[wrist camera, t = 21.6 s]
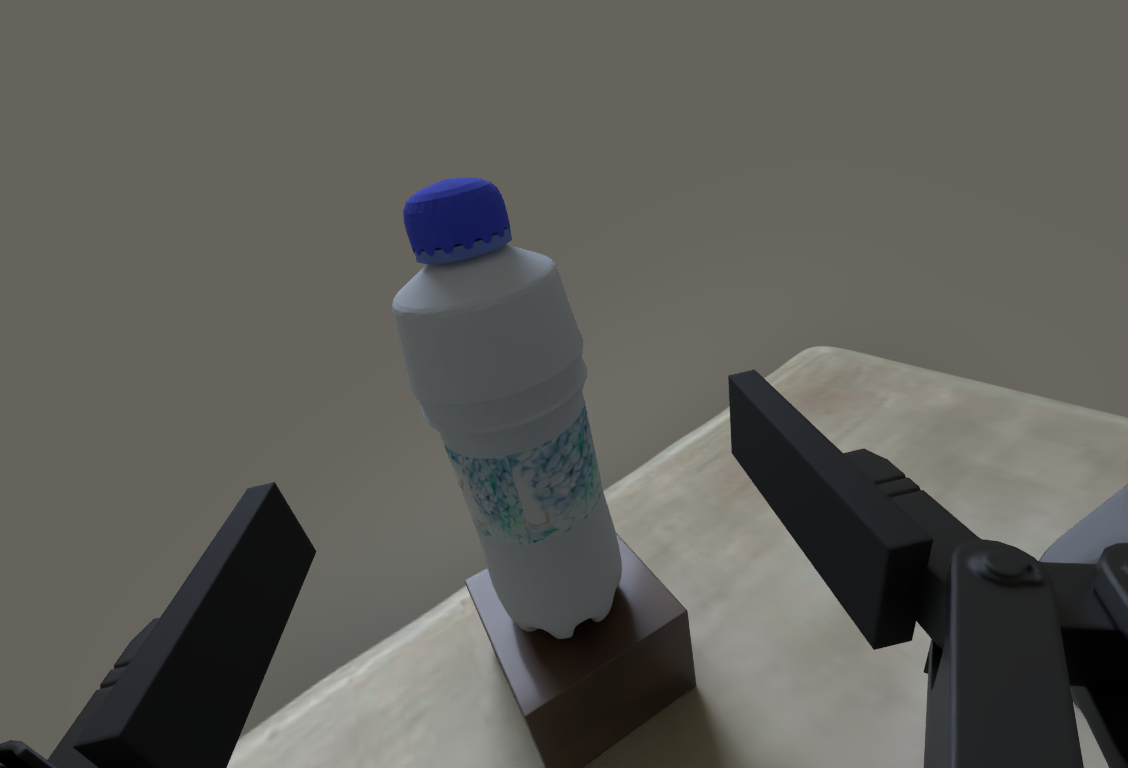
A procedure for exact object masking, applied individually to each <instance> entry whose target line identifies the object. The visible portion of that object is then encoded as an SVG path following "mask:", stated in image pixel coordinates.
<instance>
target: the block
mask: <svg viewBox="0 0 1128 768" xmlns="http://www.w3.org/2000/svg"><path fill="white" fill-rule="evenodd" d="M616 536H617V540H618V545H619V549H620V554H621V560H622V573H621V579H620V582H619V584H618V585H617V587H616V590H615V593H614V598H613V602H612V606H611V609H610V611H609V613H608V614H607V615H606V617H605V618H604V619H603V620H601V621H600V622H595V621H593V620H592V619H591V618H589V619H587V620H585V621H583V622H581V623H579V624H578V625H577V626H576V627H575V629H574V632H573V636H571V637H570V638H565V639H557V638H556V637H554V636H553V635H551V634H550V633H549V632H547V631H545V630H543V629H539V628H538V629H537V630H535V631H530V632H529V631H525V630H523V629H522V628H520V627H519V626H518V625H517V624H516V623H515V622H514V621H513V620H512V619H511V618H510V616H509V615H508V613H507V612H506V610H505V609H504V607H503V605H502V603H501V602H500V600H499V598H498V596H497V594H496V591H495V589H494V587H493V585H492V581H491V578H490V575H489V572H488V568H487V569H485V570H483V571H481V572H479V573H477V574H476V575H474V576H472V577H470V578H468V579H466V580H465V584H466V586H467V588H468V591H469V593H470V596H471V598H472V600H473V603H474V605H475V607H476V610H477V612H478V614H479V617H480V619H481V621H482V624H483V626H484V628H485V631H486V633H487V636H488V638H489V640H490V643H491V645H492V647H493V650H494V652H495V654H496V657H497V659H498V661H499V663H500V666H501V668H502V670H503V673H504V675H505V677H506V679H507V682H508V684H509V686H510V689H511V691H512V693H513V695H514V698H515V700H516V702H517V705H518V707H519V709H520V712H521V714H522V716H523V718H524V721H525V723H526V725H527V728H528V730H529V732H530V734H531V737H532V739H533V741H534V744H535V746H536V748H537V750H538V753H539V755H540V757H541V760H542V762H543V764H544V767H545V768H582V767H583V766H585V765H586V764H587V763H589V762H590V761H592V760H593V759H594V758H596V757H597V756H599V755H600V754H601V753H603V752H604V751H605V750H607V749H608V748H610V747H611V746H612V745H614V744H615V743H617V742H618V741H619V740H621V739H622V738H623V737H625V736H626V735H628V734H629V733H630V732H632V731H633V730H635V729H636V728H637V727H639V726H640V725H641V724H643V723H644V722H646V721H647V720H648V719H650V718H651V717H653V716H654V715H655V714H657V713H658V712H659V711H661V710H662V709H664V708H665V707H666V706H668V705H669V704H671V703H672V702H673V701H675V700H676V699H677V698H679V697H680V696H682V695H683V694H684V693H686V692H687V691H689V690H690V689H691V688H693V687H694V686H695V685H696V679H695V670H694V662H693V654H692V646H691V637H690V629H689V621H688V613H687V610H686V609H685V608H684V607H683V606H682V604H681V603H680V602H679V601H678V600H677V599H676V598H675V597H674V596H673V595H672V594H671V592H670V591H669V590H668V589H667V588H666V587H665V586H664V585H663V584H662V583H661V582H660V580H659V579H658V578H657V577H656V576H655V575H654V574H653V573H652V572H651V571H650V570H649V568H648V567H647V566H646V565H645V564H644V563H643V562H642V561H641V560H640V559H639V557H638V556H637V555H636V554H635V553H634V552H633V551H632V550H631V549H630V548H629V547H628V545H627V544H626V543H625V542H624V541H623V540H622V539H621V538H620V537H619V536H618V535H617V533H616Z"/></svg>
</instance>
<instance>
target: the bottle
mask: <svg viewBox="0 0 1128 768" xmlns="http://www.w3.org/2000/svg"><path fill="white" fill-rule="evenodd" d="M403 215H404V224H405V227H406V231H407V234H408V237H409V240H410V243H411V246H412V249H413V252H415V255H416V260H417V262H419V263H424V264H427V265H426V266H424V268H423V269H421V270H420V271H419V273H417V274H416V275H415V276H414V277H413V278H412V279H411V280H410V281H409V282H408V283H407V284H406V285H405V286H404V287H403V288H402V289H401V290H400V291H399V292H398V293H397V295H396V296H395V298H394V300H393V306H392V310H393V315H394V319H395V323H396V327H397V332H398V335H399V340H400V345H401V349H402V353H403V358H404V362H405V366H406V370H407V375H408V383H409V387H410V389H411V391H412V392H413V394H414V395H415V396H416V397H417V399H418V400H419V402H420V404H421V410H422V415H423V417H424V419H425V420H426V421H427V422H428V423H429V424H430V425H431V426H432V427H433V428H434V429H436V430H437V431H439V433H440V435H441V438H442V441H443V443H444V446H445V448H446V451H447V454H448V457H449V459H450V462H451V464H452V467H453V470H454V472H455V475H456V478H457V480H458V483H459V486H460V488H461V491H462V493H463V496H464V498H465V501H466V504H467V507H468V509H469V512H470V514H471V517H472V520H473V522H474V524H475V527H476V530H477V532H478V535H479V539H480V543H481V546H482V550H483V553H484V557H485V561H486V565H487V568H488V572H489V575H490V578H491V581H492V585H493V587H494V589H495V591H496V594H497V596H498V598H499V600H500V602H501V603H502V605H503V607H504V609H505V610H506V612H507V613H508V615H509V616H510V618H511V619H512V620H513V621H514V622H515V623H516V624H517V625H518V626H519V627H520V628H522V629H523V630H525V631H529V632H530V631H535V630H537V629H538V628H539V629H543V630H545V631H547V632H549V633H550V634H551V635H553V636H554V637H556V638H557V639H565V638H570V637H571V636H573V632H574V629H575V627H576V626H577V625H578V624H579V623H581V622H583V621H585V620H587V619H589V618H591V619H592V620H593V621H595V622H600V621H601V620H603V619H604V618H605V617H606V615H607V614H608V613H609V611H610V609H611V606H612V602H613V598H614V593H615V590H616V587H617V585H618V584H619V582H620V579H621V573H622V560H621V554H620V549H619V545H618V540H617V536H616V532H615V529H614V525H613V522H612V519H611V516H610V513H609V509H608V506H607V503H606V500H605V496H604V493H603V489H602V485H601V478H600V473H599V468H598V464H597V459H596V454H595V450H594V445H593V440H592V435H591V430H590V425H589V421H588V417H587V411H586V406H585V402H584V398H583V393H582V389H583V386H584V383H585V380H586V377H587V367H586V364H585V362H584V361H583V359H582V350H583V349H582V348H583V338H582V335H581V333H580V331H579V329H578V326H577V324H576V321H575V319H574V316H573V313H572V310H571V307H570V304H569V301H568V298H567V295H566V292H565V290H564V287H563V284H562V281H561V278H560V275H559V272H558V269H557V266H556V264H555V263H554V261H553V260H551V259H550V258H549V257H547V256H544V255H542V254H539V253H535V252H531V251H528V250H524V249H520V248H517V247H513V246H509V245H506V244H507V243H508V242H510V241H511V240H512V238H511V231H510V224H509V219H508V215H507V211H506V207H505V204H504V200H503V198H502V195H501V194H500V192H499V190H498V189H497V187H496V186H494V185H493V184H492V183H491V182H489V181H486V180H483V179H481V178H454V179H445V180H442V181H440V182H437V183H435V184H432V185H429V186H428V187H425V188H423V189H421V190H419V191H418V192H416V193H415V194H413V195H412V196H411V197H410V198H409V200H408V201H407V202H406V204H405V207H404V212H403Z"/></svg>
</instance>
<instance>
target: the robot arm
mask: <svg viewBox="0 0 1128 768" xmlns="http://www.w3.org/2000/svg"><path fill="white" fill-rule="evenodd" d="M728 378H729V401H730V423H731V445H732V454H733V455H734V457H735V458H736V459H737V461H738V462H739V464H740V465H741V466H742V468H743V469H744V470H745V472H746V473H747V475H748V476H749V477H750V479H751V480H752V482H753V483H754V484H755V486H756V487H757V489H758V490H759V491H760V493H761V494H762V495H763V497H764V498H765V500H766V501H767V502H768V504H769V505H770V507H771V508H772V509H773V511H774V512H775V513H776V515H777V516H778V518H779V519H780V520H781V522H782V523H783V525H784V526H785V527H786V529H787V530H788V531H789V533H790V534H791V536H792V537H793V538H794V540H795V541H796V543H797V544H798V545H799V547H800V548H801V549H802V551H803V552H804V554H805V555H806V556H807V558H808V559H809V561H810V562H811V563H812V565H813V566H814V567H815V569H816V570H817V572H818V573H819V574H820V576H821V577H822V579H823V580H824V581H825V583H826V584H827V585H828V587H829V588H830V590H831V591H832V592H833V594H834V595H835V597H836V598H837V599H838V601H839V602H840V604H841V605H842V606H843V608H844V609H845V610H846V612H847V613H848V615H849V616H850V617H851V619H852V620H853V622H854V623H855V624H856V626H857V627H858V628H859V630H860V631H861V633H862V634H863V635H864V637H865V638H866V640H867V641H868V642H869V644H870V645H871V646H872V648H873V649H874V650H875V649H879V648H883V647H887V646H891V645H895V644H900V643H904V642H908V641H912V637H913V633H914V628H915V623H916V621H917V622H918V623H919V624H920V626H921V627H922V628H923V629H924V630H925V631H926V633H927V634H928V635H929V636H930V637H931V639H932V640H931V644H930V648H929V652H928V656H927V660H926V665H925V669H924V672H925V673H927V674H928V690H927V711H926V733H925V754H924V768H1084V767H1083V761H1082V755H1081V749H1080V743H1079V737H1078V731H1077V725H1076V719H1075V713H1074V707H1073V701H1074V702H1075V703H1076V704H1077V705H1078V706H1079V707H1080V708H1081V710H1082V712H1083V714H1084V716H1085V718H1086V720H1087V722H1088V724H1089V726H1090V728H1091V730H1092V732H1093V734H1094V737H1095V739H1096V741H1097V743H1098V745H1099V747H1100V749H1101V751H1102V753H1103V755H1104V757H1105V759H1106V761H1107V764H1108V766H1109V768H1128V484H1127V485H1126V486H1125V487H1123V488H1122V489H1121V490H1120V491H1118V492H1117V493H1116V494H1114V495H1113V496H1112V497H1111V498H1109V499H1108V500H1107V501H1106V502H1104V503H1103V504H1102V505H1100V506H1099V507H1098V508H1097V509H1095V510H1094V511H1093V512H1092V513H1090V514H1089V515H1088V516H1087V517H1085V518H1084V519H1083V520H1081V521H1080V522H1079V523H1078V524H1076V525H1075V526H1074V527H1073V528H1071V529H1070V530H1069V531H1068V532H1066V533H1065V534H1064V535H1062V536H1061V537H1060V538H1059V539H1057V540H1056V541H1055V542H1054V543H1053V544H1052V545H1051V546H1050V547H1049V548H1048V549H1047V550H1046V551H1045V552H1044V554H1043V555H1042V557H1041V559H1040V560H1039V561H1037V560H1036V559H1035V558H1034V557H1032V556H1031V555H1029V554H1027V553H1025V552H1024V551H1022V550H1020V549H1018V548H1016V547H1013V546H1010V545H1007V544H1004V543H1001V542H998V541H990V540H982V539H980V538H979V537H977V536H976V535H975V534H974V533H973V532H972V531H970V530H969V529H968V528H967V527H966V526H965V525H963V524H962V523H961V522H960V521H959V520H958V519H956V518H955V517H954V516H953V515H952V514H951V513H949V512H948V511H947V510H946V509H945V508H943V507H942V506H941V505H940V504H939V503H938V502H936V501H935V500H934V499H933V498H932V497H931V496H929V495H928V494H927V493H926V492H925V491H924V490H922V491H921V490H920V487H919V486H918V485H917V484H915V483H914V482H913V481H912V480H911V479H910V478H906V477H905V474H904V473H903V472H901V471H900V470H899V469H898V468H897V467H895V466H894V465H893V464H892V463H891V462H890V461H888V460H887V459H885V458H883V457H881V456H879V455H876V454H874V453H872V452H870V451H868V450H866V449H860V450H856V451H852V452H847V453H842V452H841V451H840V450H839V449H838V448H837V447H836V446H835V445H834V444H833V443H831V442H830V441H829V440H828V439H827V438H826V437H825V436H824V435H823V434H822V433H821V432H820V431H819V430H818V429H817V428H816V427H815V426H813V425H812V424H811V423H810V422H809V421H808V420H807V419H806V418H805V417H804V416H803V415H802V414H801V413H800V412H799V411H798V410H797V409H795V408H794V407H793V406H792V405H791V404H790V403H789V402H788V401H787V400H786V399H785V398H784V397H783V396H782V395H781V394H780V393H779V392H778V391H776V390H775V389H774V388H773V387H772V386H771V385H770V384H769V383H768V382H767V381H766V380H765V379H764V378H763V377H762V376H761V375H760V374H758V373H757V372H756V371H755V370H752V371H747V372H742V373H738V374H734V375H730V376H728ZM315 553H316V550H315V549H314V547H313V545H312V544H311V542H310V540H309V538H308V537H307V535H306V534H305V532H304V530H303V529H302V527H301V525H300V524H299V522H298V520H297V519H296V517H295V515H294V514H293V512H292V510H291V509H290V507H289V505H288V504H287V502H286V500H285V499H284V497H283V495H282V494H281V492H280V490H279V489H278V487H277V485H276V484H275V482H273V483H269V484H264V485H261V486H256V487H252V488H248V489H247V490H246V492H245V493H244V495H243V496H242V498H241V499H240V501H239V502H238V503H237V505H236V507H235V508H234V510H233V511H232V512H231V514H230V515H229V517H228V518H227V520H226V521H225V523H224V524H223V526H222V527H221V529H220V530H219V532H218V533H217V535H216V536H215V538H214V539H213V540H212V542H211V543H210V545H209V546H208V548H207V549H206V551H205V552H204V554H203V555H202V557H201V558H200V560H199V561H198V563H197V564H196V566H195V567H194V569H193V570H192V572H191V573H190V574H189V576H188V577H187V579H186V580H185V582H184V584H183V585H182V586H181V588H180V589H179V591H178V592H177V594H176V595H175V597H174V598H173V600H172V601H171V603H170V604H169V606H168V607H167V609H166V610H165V611H164V613H163V614H162V616H161V617H160V618H156V619H153V621H152V622H150V623H149V624H148V625H147V626H146V627H145V628H144V629H143V630H142V631H141V632H140V633H139V634H138V635H137V636H136V637H135V638H134V639H133V640H132V641H131V642H130V643H129V645H128V646H127V647H126V649H125V650H124V652H123V653H122V655H121V656H120V658H119V659H118V660H117V662H116V663H115V665H114V670H110V672H109V673H108V675H107V676H106V677H105V679H104V680H103V682H102V683H101V685H100V686H101V688H100V690H96V692H95V693H94V694H93V696H92V697H91V699H90V700H89V702H88V703H87V705H86V706H85V707H84V709H83V710H82V712H81V713H80V714H79V716H78V717H77V719H76V720H75V722H74V723H73V724H72V726H71V727H70V729H69V730H68V731H67V733H66V734H65V736H64V737H63V739H62V740H61V741H60V743H59V744H58V746H57V747H56V749H55V750H54V751H53V753H52V754H51V756H50V757H49V759H48V760H46V759H45V758H43V757H42V756H41V755H39V754H38V753H37V752H35V751H34V750H32V749H31V748H30V747H29V746H27V745H26V744H25V743H23V742H22V741H12V740H10V741H7V742H4V743H2V744H0V768H226V767H227V765H228V763H229V760H230V758H231V755H232V753H233V751H234V748H235V746H236V743H237V741H238V739H239V736H240V734H241V731H242V729H243V727H244V724H245V722H246V719H247V716H248V714H249V712H250V710H251V707H252V705H253V702H254V700H255V698H256V695H257V693H258V690H259V688H260V685H261V683H262V681H263V679H264V676H265V674H266V671H267V669H268V666H269V664H270V662H271V659H272V657H273V654H274V652H275V650H276V647H277V645H278V642H279V640H280V638H281V635H282V633H283V630H284V628H285V626H286V623H287V621H288V618H289V616H290V614H291V611H292V609H293V606H294V604H295V601H296V599H297V597H298V594H299V592H300V590H301V587H302V585H303V582H304V580H305V577H306V575H307V573H308V570H309V568H310V565H311V563H312V561H313V558H314V556H315ZM1072 699H1073V701H1072Z"/></svg>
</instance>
